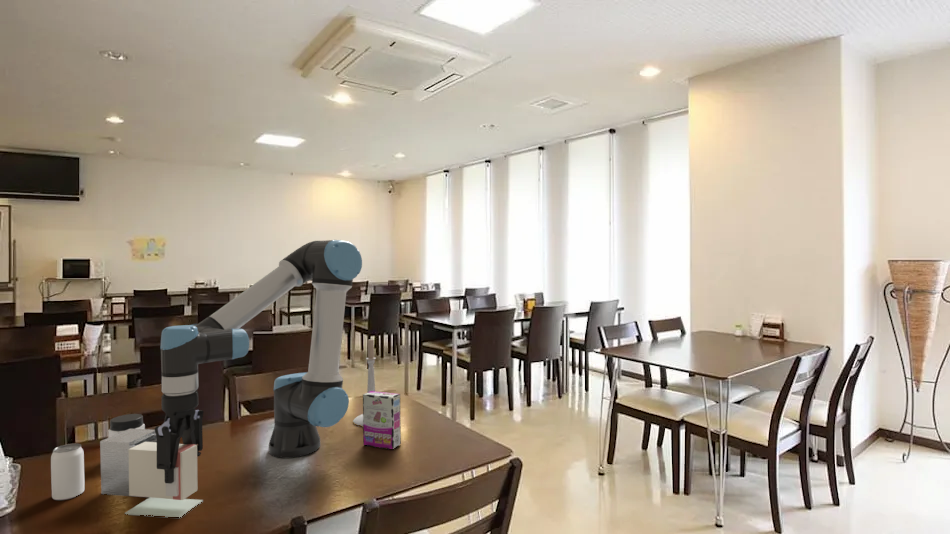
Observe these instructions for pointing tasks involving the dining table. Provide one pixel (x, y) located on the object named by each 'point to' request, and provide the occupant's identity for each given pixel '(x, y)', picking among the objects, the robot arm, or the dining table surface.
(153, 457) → the pink-banded white block
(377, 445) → the candy bar box
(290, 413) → the robot arm
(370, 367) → the candlestick
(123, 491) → the dispenser
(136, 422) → the jar
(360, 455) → the dining table surface
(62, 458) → the can
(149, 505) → the pad
